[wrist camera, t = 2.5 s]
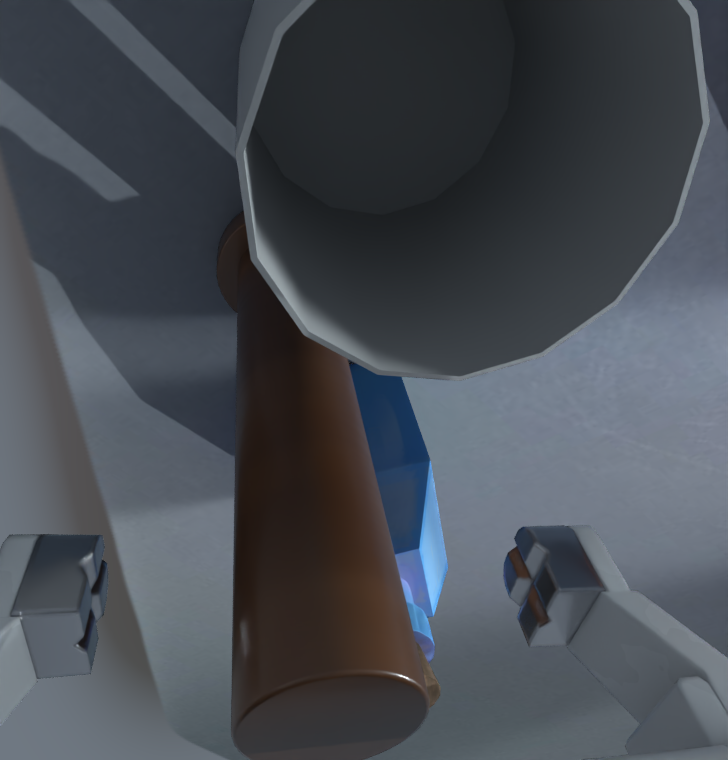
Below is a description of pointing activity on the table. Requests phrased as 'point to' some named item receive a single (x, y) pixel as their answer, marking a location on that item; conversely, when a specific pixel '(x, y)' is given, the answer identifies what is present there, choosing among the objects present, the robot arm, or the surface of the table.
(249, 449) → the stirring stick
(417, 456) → the perfume bottle
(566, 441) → the table surface
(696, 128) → the cup
